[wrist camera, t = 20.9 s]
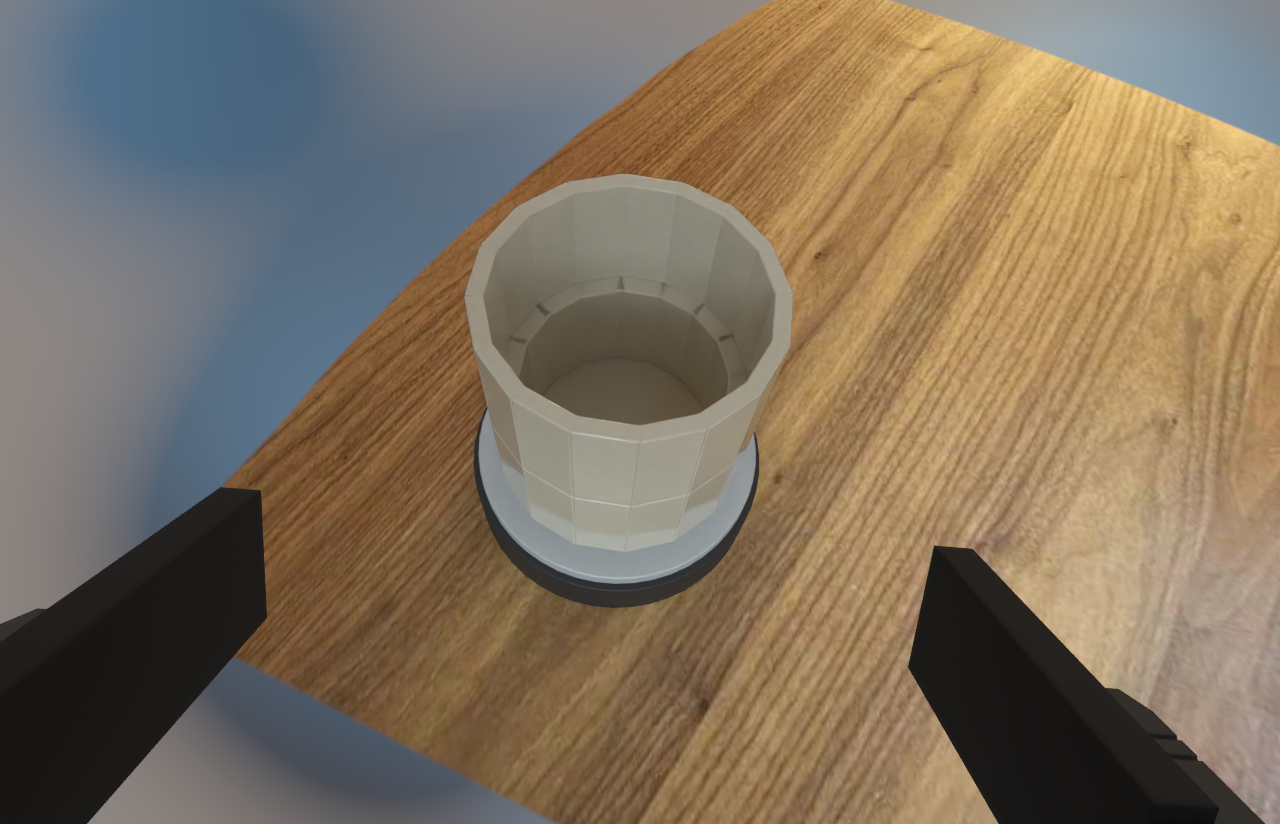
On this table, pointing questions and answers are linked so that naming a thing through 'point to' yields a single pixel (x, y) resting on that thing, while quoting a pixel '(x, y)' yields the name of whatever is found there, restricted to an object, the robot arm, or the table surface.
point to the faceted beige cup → (626, 353)
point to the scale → (602, 570)
